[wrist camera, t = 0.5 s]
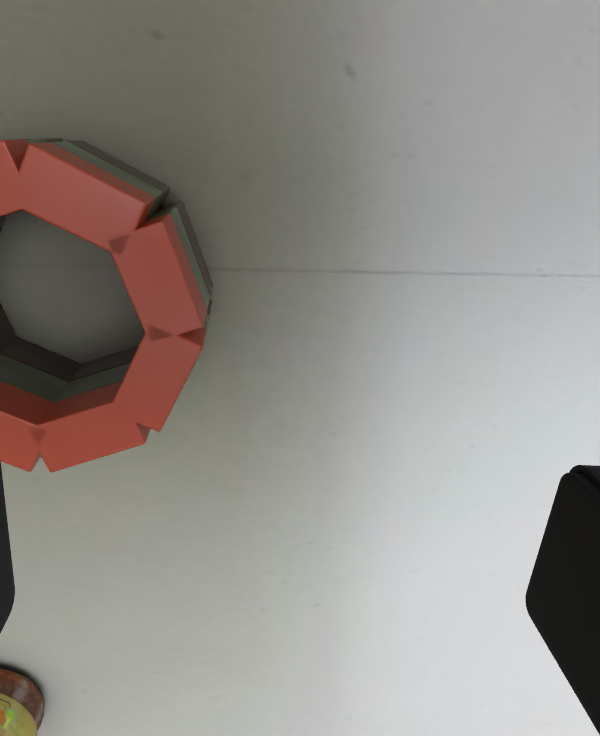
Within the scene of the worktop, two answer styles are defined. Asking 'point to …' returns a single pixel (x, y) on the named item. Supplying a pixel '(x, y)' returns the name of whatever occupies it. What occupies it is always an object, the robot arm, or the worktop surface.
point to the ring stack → (67, 378)
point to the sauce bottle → (19, 705)
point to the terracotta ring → (145, 288)
